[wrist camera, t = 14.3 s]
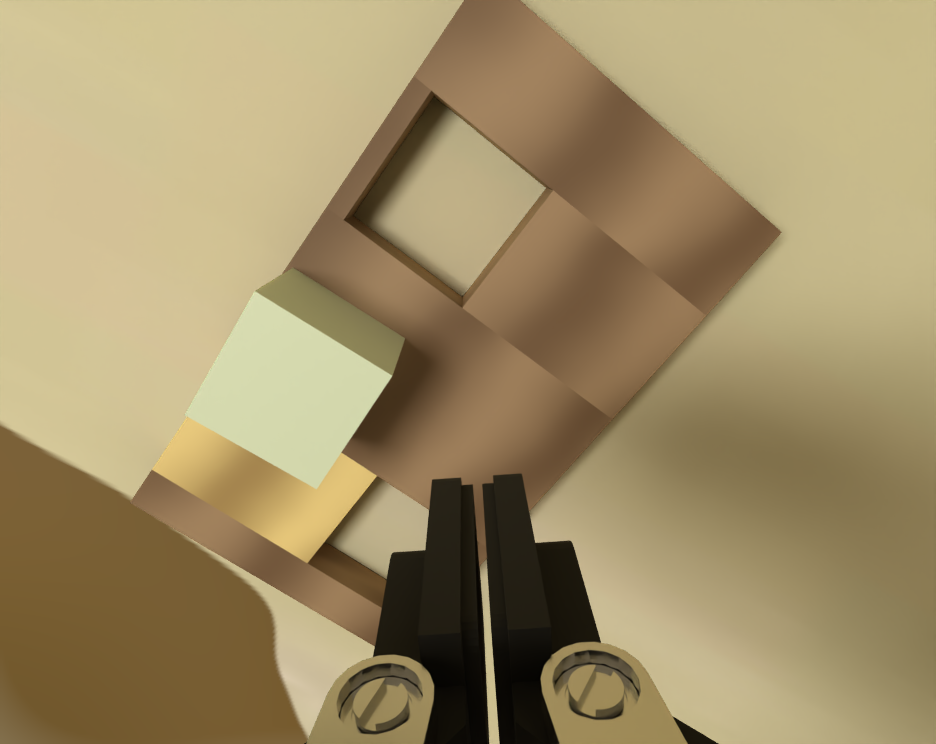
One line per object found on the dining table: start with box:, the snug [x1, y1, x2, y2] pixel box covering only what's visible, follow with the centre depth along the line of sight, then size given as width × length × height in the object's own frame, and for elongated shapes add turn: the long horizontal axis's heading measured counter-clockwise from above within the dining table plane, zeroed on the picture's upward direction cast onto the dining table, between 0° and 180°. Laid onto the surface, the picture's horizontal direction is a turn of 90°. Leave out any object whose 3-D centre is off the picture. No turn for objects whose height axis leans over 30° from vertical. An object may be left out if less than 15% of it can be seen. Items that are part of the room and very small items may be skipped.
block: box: [185, 268, 405, 489], centre depth 22 cm, size 5×5×4 cm
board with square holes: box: [130, 0, 781, 646], centre depth 26 cm, size 14×25×2 cm, turn 143°
